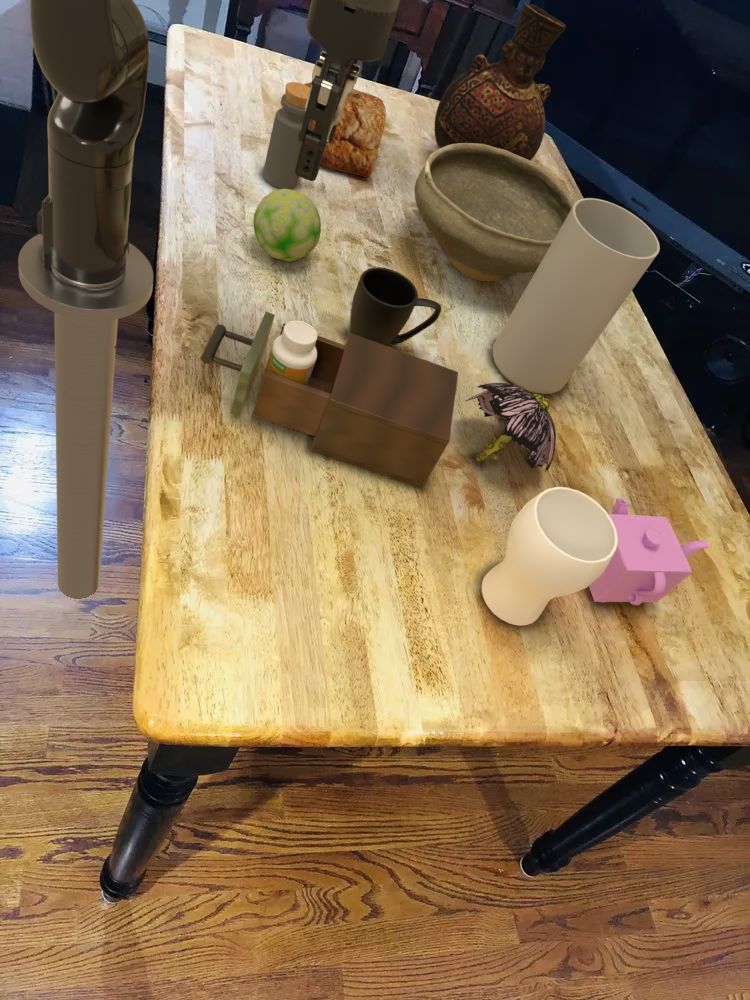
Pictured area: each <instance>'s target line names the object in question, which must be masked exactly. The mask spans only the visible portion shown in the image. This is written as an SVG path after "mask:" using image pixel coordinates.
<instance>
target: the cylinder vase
mask: <svg viewBox="0 0 750 1000" xmlns="http://www.w3.org/2000/svg"><path fill="white" fill-rule="evenodd" d="M660 249H661V248H660V242H659V240H658V237H657V236H656V234H655V233H654V231H653V230H652V229H651V228H650V227H649V226H648V224H647V223H645V222H644V221H643V220H642V219H641V218H640V217H638V216H637V215H635V214H634V213H632V212H631V211H629V210H627V209H626V208H624V207H622V206H619V205H618V204H616V203H613V202H610V201H608V200H605V199H600V198H594V197H585V198H581V199H578V200H576V201H575V202H574V205H573V207H572V209H571V211H570V212H569V214H568V216H567V218H566V219H565V221H564V223H563V225H562V226H561V228H560V230H559V232H558V233H557V235H556V237H555V239H554V240H553V242H552V244H551V246H550V247H549V249H548V251H547V253H546V254H545V256H544V258H543V260H542V261H541V263H540V265H539V267H538V268H537V270H536V272H533V273H534V274H533V275H532V277H531V279H530V281H529V282H528V284H527V285H526V287H525V289H524V291H523V293H522V294H521V296H520V298H519V299H518V301H517V303H516V305H515V306H514V309H513V310H512V312H511V314H510V316H509V317H508V319H507V321H506V322H505V324H504V325H503V327H502V329H501V331H500V333H499V334H498V337H497V338H496V340H495V342H494V343H493V346H492V358H493V361H494V363H495V366H496V367H497V369H498V371H499V372H500V373H501V374H502V375H503V377H504V378H506V379H507V381H509V382H511V384H513V385H516V386H519V387H522V388H524V389H526V390H528V391H529V392H530V393H532V394H533V393H541V394H544V395H550V394H554V393H555V394H556V393H557V392H559V391H561V390H562V389H563V388H564V387H565V386H566V385H567V383H568V381H570V379H571V378H572V376H573V375H574V373H575V372H576V370H577V369H578V367H579V366H580V365H581V364H582V362H583V360H585V358H586V356H587V355H588V353H589V352H590V351H591V349H592V347H593V346H594V345H595V343H596V342H597V340H598V339H599V338H600V336H602V334H603V332H604V331H605V329H606V328H607V327H608V325H609V324H610V322H611V321H612V319H613V318H614V316H615V315H616V313H617V312H618V311H619V309H620V308H621V307H622V305H623V304H624V302H625V301H626V299H627V298H628V297H629V295H630V294H631V292H632V291H633V289H634V288H635V287H636V286H637V284H638V283H639V281H640V280H641V278H642V277H643V275H644V274H645V273H646V271H647V270H648V268H649V267H650V266H651V264H652V263H653V261H654V260H655V258H656V257H657V256H658V254H659V253H660Z"/></svg>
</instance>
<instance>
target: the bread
mask: <svg viewBox="0 0 750 1000" xmlns="http://www.w3.org/2000/svg"><path fill="white" fill-rule="evenodd" d="M311 83H312V81H310V82H305V83H303V84H304V85H306V86H308V87H310V88H311ZM281 108H283V107H282V106H281ZM386 119H387V109H386V106H385V104H384V101H383V100H382V99H381V98H380V97H377V96H375V95H373V94H370V93H367V92H364V91H360V90H358V89H355V88H353V91H352V94H351V96H350V98H349V99H347V102H346V105H345V106H344V110H343V113H342V116H341V119H340V122H339V124H338V125H337V128H336V131H335V135H334V138H333V141H332V142H331V143H328V145H327V146H326V148H325V150H324V153H323V157H322V161H321V164H320V166H323V167H325V168H328V169H330V170H335V171H339V172H343V173H349V174H353V175H356V176H360V177H365V178H366V177H370V176H371V175H372V173H373V172H374V168H375V163H376V160H377V158H378V155H379V149H380V147H381V143H382V137H383V135H384V131H385V127H386V121H387V120H386ZM315 123H316V121H314V120H313V121H312V127H311V129H314V127H315Z"/></svg>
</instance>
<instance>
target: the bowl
mask: <svg viewBox="0 0 750 1000" xmlns="http://www.w3.org/2000/svg"><path fill="white" fill-rule="evenodd" d="M414 199H415V204H416V207H417V210H418V212H419V215H420V216H421V218H422V221H423V223H424V225H425V226H426V228H427V229H428V231H429V232H430V233H431V235H432V236H433V237H434V239H435V241H436V243H437V244H438V246H439V247H440V249H441V251H442V252H443V253H444V255H445V256H446V257H447V259H448V260H449V262H450V263H451V264H452V266H454V268H456V269H457V270H458V271H459V272H460V273H462V274H463V275H464V276H466V277H469V278H472V279H474V280H476V281H480V282H497V281H500V280H504V279H506V278H509V277H513V276H517V275H521V274H531V273H535V272H536V270H537V268H538V267H539V265H540V263H541V261H542V260H543V258H544V256H545V254H546V253H547V251H548V249H549V247H550V246H551V244H552V242H553V240H554V239H555V237H556V235H557V233H558V232H559V230H560V228H561V226H562V225H563V223H564V221H565V219H566V218H567V216H568V214H569V212H570V211H571V209H572V207H573V205H574V204H575V201H574V199H573V197H572V195H571V194H570V192H569V191H568V190H567V189H566V187H565V186H564V185H563V183H562V182H561V181H560V180H559V179H558V178H557V177H556V176H554V174H552V173H551V172H550V171H548V170H547V169H545V168H543V167H542V166H541V165H538V164H537V163H536V162H534V161H532V160H528V159H525V158H523V157H520V156H518V155H516V154H513V153H511V152H509V151H506V150H504V149H499V148H496V147H492V146H489V145H485V144H477V143H457V144H451V145H447V146H445V147H442V148H440V149H438V148H437V149H436V150H434V151H433V152H432V153H431V154H430V155H429V156H428V157H427V159H426V161H425V164H424V166H422V169H421V170H420V172H419V174H418V175H417V178H416V180H415V184H414Z"/></svg>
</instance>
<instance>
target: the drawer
mask: <svg viewBox="0 0 750 1000" xmlns="http://www.w3.org/2000/svg"><path fill="white" fill-rule="evenodd" d="M275 317H276V314H275V313H271V312H269V311H265V312H264V314H263V317H262V319H261V321H260V324H259V326H258V328H257V330H256V333H255V336H254V338H253V339H252V338H250V337H248V336H244V335H241V334H237V333H235V332H232V331H230V330H227V327H226V326H225V325H223V324H220V323H219V324H216V325H215V326H214V329H213V331H212V333H211V335H210V337H209V339H208V341H207V343H206V345H205V348H204V349H203V352H202V354H201V356H200V360H201V362H202V363H204V364H205V365H211V364H213V363H214V364H217V365H219V366H222V367H225V368H228V369H231V370H233V371H235V372H239V376H238V380H237V385H236V387H235V392H234V396H233V402H232V405H231V409H230V412H229V413H230V415H232V416H235V417H238V418H241V416H242V413H243V411H244V407H245V405H246V403H247V400H248V397H249V395H250V393H251V390H252V388H253V385H254V383H255V380H256V378H257V376H258V373H259V371H260V368H261V365H262V363H263V361H264V357H265V353H266V350H267V347H268V344H269V343H268V342H269V339H270V335H271V331H272V329H273V324H274V320H275ZM285 324H286V323H285V322H284V323H283V324H282V326H281V329H280V332H279V336H280V335H282V332H283V329H284V326H285ZM224 338H227V339H230V340H232V341H235V342H239V343H242V344H244V345H247V346H250V347H249V350H248V352H247V355H246V356H245V360H244V362H243V364H239V363H236V362H233V361H231V360H227V359H225V358H221V357H220V356H216V355H217V353H218V351H219V349H220V346H221V345H222V342H223V340H224ZM315 347H316V350H317V359H316V362H315V365H314V368H313V371H312V374H311V376H310V379H309V382H308V385H304V384H301V383H298V382H295V381H293V380H290V379H287V378H284V377H281V376H278V375H275V374H273V373H270V372H267V371H265V370H264V372H263V375H262V378H261V382H260V385H259V390H258V393H257V396H256V400H255V404H254V407H253V411H252V414H251V415H252V416H254V417H256V418H259V419H263V420H265V421H269V422H271V423H274V424H276V425H280V426H282V427H286V428H289V429H291V430H295V431H298V432H301V433H303V434H306V435H308V436H312V437H315V436H316V433H317V431H318V428H319V426H320V423H321V420H322V418H323V415H324V412H325V410H326V407H327V405H328V402H329V399H330V396H331V392H332V389H333V386H334V382H335V379H336V375H337V372H338V368H339V365H340V362H341V358H342V355H343V351H344V348H345V344H343V343H340V342H337V341H335V340H331V339H329V338H326V337H324V336H321V335H318V334H317V340H316V344H315Z"/></svg>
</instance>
